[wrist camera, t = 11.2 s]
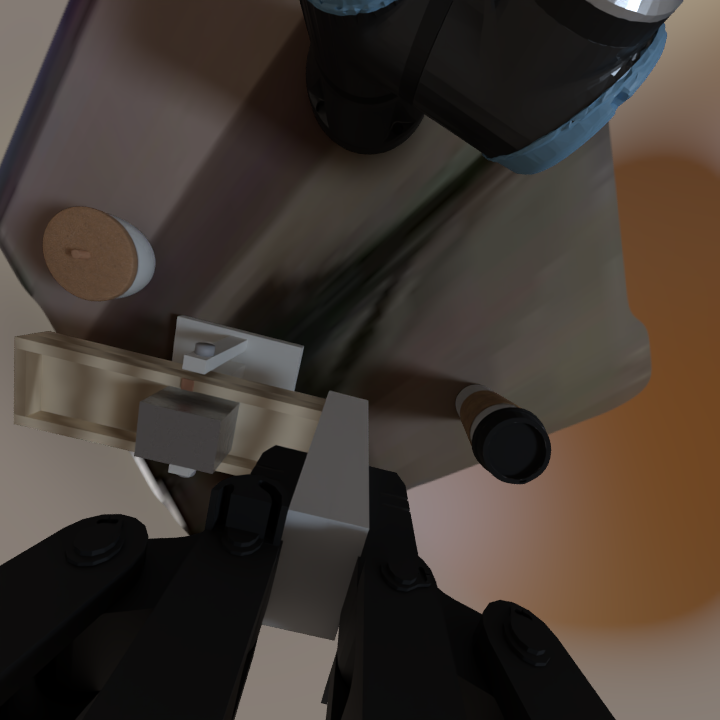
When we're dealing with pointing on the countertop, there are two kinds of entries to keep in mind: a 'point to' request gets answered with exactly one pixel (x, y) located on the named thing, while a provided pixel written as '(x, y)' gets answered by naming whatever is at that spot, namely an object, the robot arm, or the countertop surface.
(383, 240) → the countertop surface
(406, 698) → the robot arm
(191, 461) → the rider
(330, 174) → the countertop surface
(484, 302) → the countertop surface
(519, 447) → the coffee cup
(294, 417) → the beam
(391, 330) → the countertop surface
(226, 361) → the stand
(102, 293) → the lidded jar
